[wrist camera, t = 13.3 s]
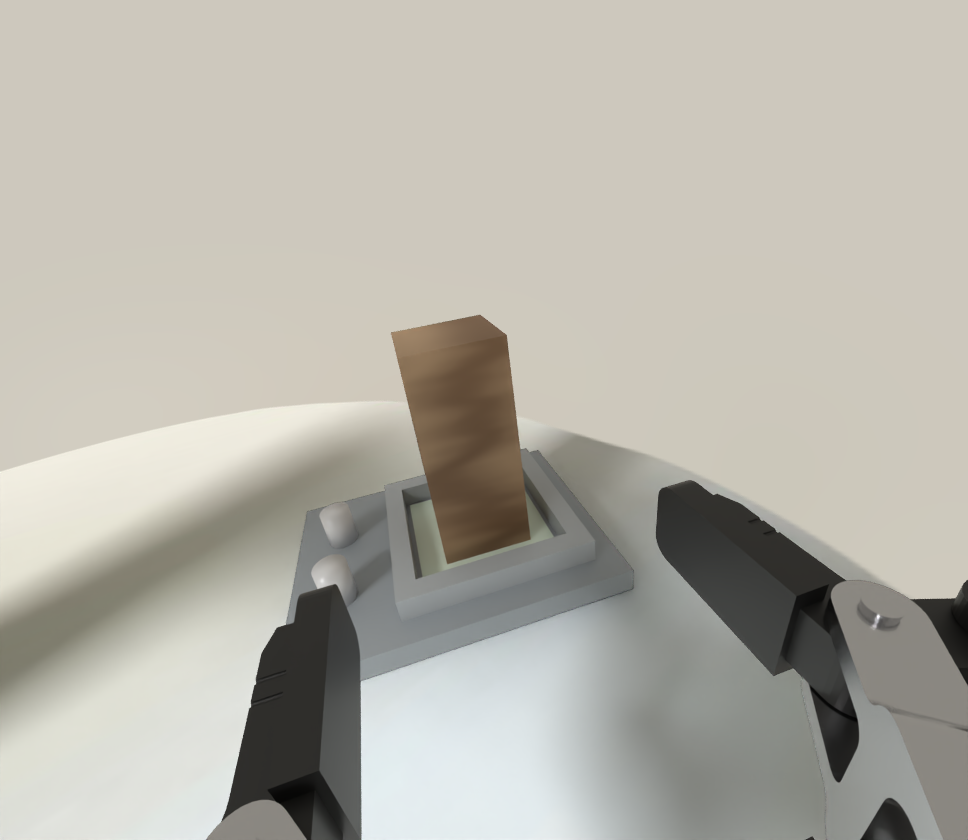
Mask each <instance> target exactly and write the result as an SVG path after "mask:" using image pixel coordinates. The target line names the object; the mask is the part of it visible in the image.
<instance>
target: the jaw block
mask: <svg viewBox="0 0 968 840" xmlns="http://www.w3.org/2000/svg"><path fill="white" fill-rule="evenodd" d="M391 335H392V338H393V343H394V347H395V351H396V355H397V359H398V363H399V367H400V371H401V376H402V380H403V384H404V388H405V392H406V397H407V401H408V405H409V409H410V413H411V417H412V421H413V426H414V430H415V434H416V438H417V442H418V446H419V450H420V454H421V459H422V463H423V467H424V471H425V475H426V479H427V483H428V487H429V492H430V496H431V500H432V504H433V508H434V512H435V516H436V521H437V525H438V529H439V533H440V537H441V541H442V545H443V549H444V553H445V557H446V562H447V564H450V563H454V562H457V561H461V560H464V559H467V558H471V557H474V556H477V555H481V554H484V553H488V552H491V551H494V550H498V549H501V548H504V547H508V546H511V545H515V544H518V543H521V542H525V541H528V540H531V537H530V529H529V520H528V512H527V503H526V495H525V486H524V478H523V469H522V461H521V453H520V444H519V436H518V427H517V419H516V410H515V402H514V393H513V385H512V376H511V368H510V360H509V352H508V343H507V335H506V334H505V333H503V332H502V331H501V330H499V329H498V328H497V327H495V326H494V325H493V324H491V323H490V322H489V321H488V320H486V319H485V318H484V317H482V316H481V315H477V316H472V317H467V318H462V319H457V320H452V321H447V322H442V323H437V324H432V325H427V326H422V327H417V328H412V329H407V330H402V331H397V332H391Z"/></svg>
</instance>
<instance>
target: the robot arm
mask: <svg viewBox="0 0 968 840" xmlns="http://www.w3.org/2000/svg"><path fill="white" fill-rule="evenodd" d="M656 539H657V543H658V546H659V549H660V551H661V552H662V554H663V556H664V557H665V558H666V560H667V561H668V562H669V563H670V564H671V565H672V566H673V567H674V568H675V569H676V570H677V572H678V573H679V574H680V575H681V576H682V577H683V578H684V579H685V580H686V581H687V582H688V584H689V585H690V586H691V587H692V588H693V589H694V590H695V591H696V592H697V593H698V594H699V595H700V597H701V598H702V599H703V600H704V601H705V602H706V603H707V604H708V605H709V606H710V607H711V609H712V610H713V611H714V612H715V613H716V614H717V615H718V616H719V617H720V618H721V619H722V620H723V622H724V623H725V624H726V625H727V626H728V627H729V628H730V629H731V630H732V631H733V632H734V634H735V635H736V636H737V637H738V638H739V639H740V640H741V641H742V642H743V643H744V644H745V645H746V647H747V648H748V649H749V650H750V651H751V652H752V653H753V654H754V655H755V656H756V657H757V659H758V660H759V661H760V662H761V663H762V664H763V665H764V666H765V667H766V668H767V669H768V670H769V672H770V673H771V674H772V675H773V676H775V675H777V674H780V673H782V672H785V671H787V670H790V669H792V668H794V669H795V670H796V671H797V672H798V673H799V674H800V675H801V676H802V680H801V690H802V694H803V699H804V703H805V707H806V711H807V715H808V719H809V724H810V728H811V732H812V736H813V740H814V745H815V749H816V753H817V757H818V761H819V766H820V770H821V774H822V778H823V782H824V788H825V795H826V811H825V829H826V839H827V840H968V580H967V581H966V582H965V583H964V584H963V586H962V588H961V590H960V592H959V593H958V595H957V597H956V598H954V599H909V598H907V597H905V596H904V595H902V594H900V593H899V592H896V591H894V590H892V589H890V588H888V587H885V586H882V585H879V584H876V583H872V582H867V581H859V580H850V581H846V580H845V579H843V578H842V577H840V576H839V575H837V574H836V573H835V572H833V571H832V570H830V569H829V568H828V567H826V566H825V565H824V564H822V563H821V562H819V561H818V560H817V559H815V558H814V557H813V556H811V555H810V554H809V553H807V552H806V551H804V550H803V549H802V548H800V547H799V546H798V545H796V544H795V543H794V542H792V541H791V540H789V539H788V538H787V537H785V536H784V535H783V534H781V533H780V532H779V533H777V532H776V530H775V529H774V528H773V527H772V526H770V525H769V524H768V523H766V522H765V521H761V520H760V518H759V517H758V516H757V515H755V514H754V513H752V512H751V511H750V510H748V509H747V508H746V507H744V506H743V505H742V504H740V503H738V502H735V501H733V500H730V499H728V498H726V497H723V496H721V495H718V494H715V495H712V494H711V493H709V492H708V491H707V490H706V489H704V488H703V487H702V486H700V485H699V484H698V483H696V482H694V481H691V480H688V481H685V482H681V483H678V484H675V485H671V486H668V487H665V488H662V489H661V490H660V491H659V495H658V510H657V525H656ZM206 840H361V690H360V649H359V642H358V637H357V633H356V630H355V627H354V624H353V622H352V620H351V617H350V615H349V612H348V610H347V607H346V605H345V602H344V600H343V597H342V595H341V592H340V590H339V588H338V586H337V585H336V584H333V585H329V586H326V587H323V588H319V589H316V590H312V591H309V592H306V593H302V594H300V595H299V597H298V600H297V606H296V612H295V618H294V623H291V624H287V625H284V626H281V627H278V628H277V629H276V630H275V632H274V634H273V635H272V637H271V639H270V640H269V642H268V644H267V645H266V647H265V648H264V650H263V652H262V654H261V658H260V663H259V667H258V672H257V676H256V685H254V690H253V694H252V699H251V708H249V712H248V717H247V721H246V726H245V730H244V735H243V739H242V743H241V748H240V752H239V757H238V761H237V766H236V770H235V775H234V779H233V784H232V788H231V793H230V797H229V801H228V805H227V808H226V811H225V814H224V816H223V819H222V821H221V823H220V824H219V825H218V826H217V827H216V828H215V829H214V830H213V832H212V833H211V834H210V835H209V836H208V838H207V839H206ZM806 840H815V839H814V838H813V837H810V838H808V839H806Z"/></svg>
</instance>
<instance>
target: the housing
mask: <svg viewBox="0 0 968 840" xmlns="http://www.w3.org/2000/svg"><path fill="white" fill-rule="evenodd" d="M520 453H521V461H522V469H523V478H524V486H525V495H526V503H527V512H528V520H529V529H530V537H531V540H528V541H525V542H521V543H518V544H515V545H511V546H508V547H504V548H501V549H498V550H494V551H491V552H488V553H484V554H481V555H477V556H474V557H471V558H467V559H464V560H461V561H457V562H454V563H450V564H447V562H446V557H445V553H444V549H443V545H442V541H441V537H440V533H439V529H438V525H437V521H436V516H435V512H434V508H433V504H432V500H431V496H430V492H429V487H428V483H427V479H426V475H422V476H418V477H415V478H411V479H407V480H403V481H399V482H396V483H392V484H388V485H384V486H385V491H382V492H379V493H375V494H371V495H367V496H364V497H360V498H356V499H352V500H348V501H345V502H337V503H333V504H331V505H328V506H326V507H322V508H318V509H315V510H311V511H307V515H306V521H305V526H304V531H303V537H302V542H301V547H300V553H299V558H298V563H297V569H296V574H295V579H294V585H293V590H292V595H291V601H290V606H289V611H288V617H287V622H286V625H287V624H291V623H294V618H295V612H296V606H297V600H298V597H299V595H300V594H302V593H306V592H309V591H312V590H316V589H319V588H323V587H326V586H329V585H333V584H336V585H337V586H338V588H339V590H340V592H341V595H342V597H343V600H344V602H345V605H346V607H347V610H348V612H349V615H350V617H351V620H352V622H353V624H354V627H355V630H356V633H357V637H358V642H359V649H360V681H362V680H365V679H368V678H371V677H374V676H377V675H380V674H383V673H386V672H389V671H392V670H395V669H398V668H401V667H404V666H406V665H409V664H412V663H415V662H418V661H421V660H424V659H427V658H430V657H433V656H436V655H439V654H442V653H445V652H448V651H451V650H454V649H457V648H459V647H462V646H465V645H468V644H471V643H474V642H477V641H480V640H483V639H486V638H489V637H492V636H495V635H498V634H501V633H504V632H507V631H510V630H513V629H515V628H518V627H521V626H524V625H527V624H530V623H533V622H536V621H539V620H542V619H545V618H548V617H551V616H554V615H557V614H560V613H563V612H566V611H568V610H571V609H574V608H577V607H580V606H583V605H586V604H589V603H592V602H595V601H598V600H601V599H604V598H607V597H610V596H613V595H616V594H619V593H621V592H624V591H627V590H630V589H633V571H634V570H633V569H632V568H631V566H630V565H629V564H628V563H627V561H626V560H625V559H624V558H623V556H622V555H621V554H620V553H619V551H618V550H617V549H616V548H615V546H614V545H613V544H612V543H611V541H610V540H609V539H608V538H607V536H606V535H605V534H604V532H603V531H602V530H601V529H600V527H599V526H598V525H597V524H596V522H595V521H594V520H593V519H592V517H591V516H590V515H589V514H588V512H587V511H586V510H585V509H584V507H583V506H582V505H581V504H580V502H579V501H578V500H577V499H576V497H575V496H574V495H573V493H572V492H571V491H570V490H569V488H568V487H567V486H566V485H565V483H564V482H563V481H562V480H561V478H560V477H559V476H558V475H557V473H556V472H555V471H554V470H553V468H552V467H551V466H550V465H549V463H548V462H547V461H546V460H545V458H544V457H543V456H542V455H541V453H540V452H539V451H538V450H537V451H533V452H528V450H527V449H526V448H525V449H521V450H520Z"/></svg>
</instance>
